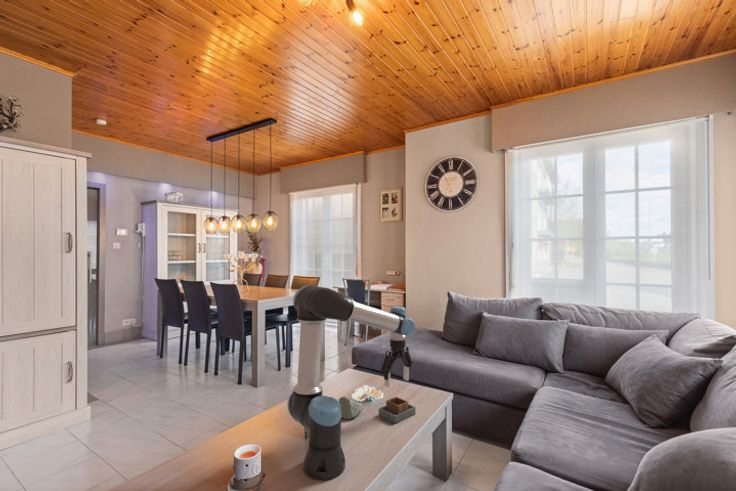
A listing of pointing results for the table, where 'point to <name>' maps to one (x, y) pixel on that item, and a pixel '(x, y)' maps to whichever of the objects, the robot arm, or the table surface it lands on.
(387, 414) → the tray
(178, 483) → the table surface
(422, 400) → the table surface
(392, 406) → the walnut crate
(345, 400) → the decorative stone
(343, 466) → the robot arm
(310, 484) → the table surface
